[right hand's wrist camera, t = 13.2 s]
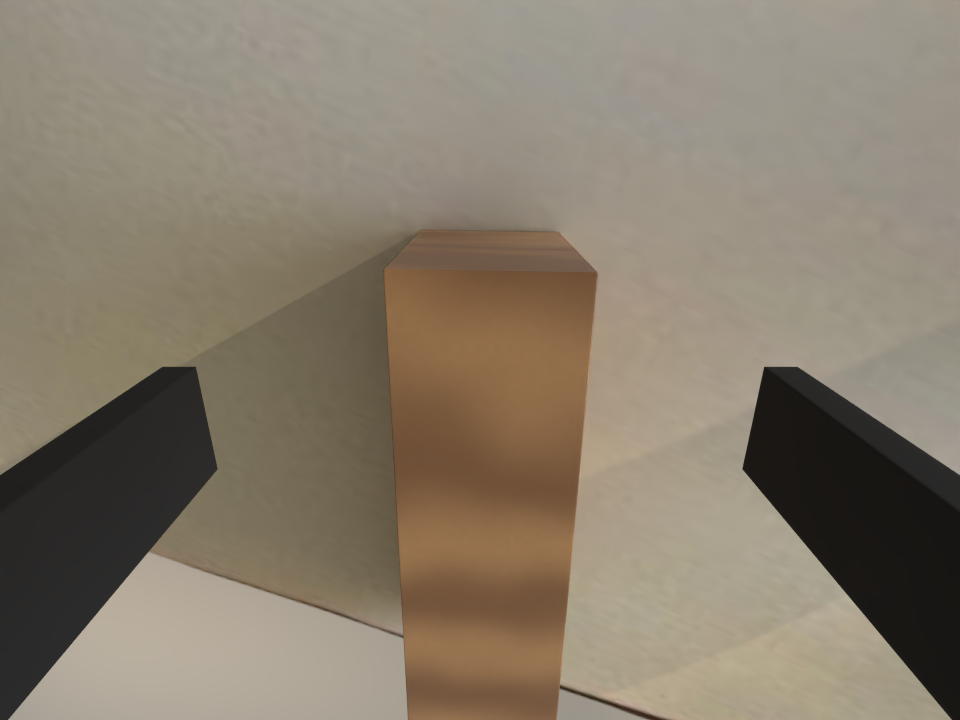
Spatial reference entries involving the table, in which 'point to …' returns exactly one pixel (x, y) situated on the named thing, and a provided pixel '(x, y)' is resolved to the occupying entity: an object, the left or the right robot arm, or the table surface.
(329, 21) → the table surface
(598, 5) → the table surface
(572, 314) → the box
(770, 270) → the table surface
